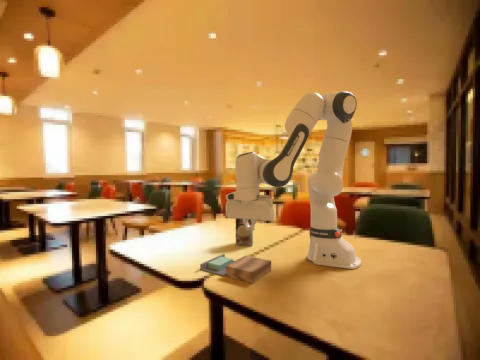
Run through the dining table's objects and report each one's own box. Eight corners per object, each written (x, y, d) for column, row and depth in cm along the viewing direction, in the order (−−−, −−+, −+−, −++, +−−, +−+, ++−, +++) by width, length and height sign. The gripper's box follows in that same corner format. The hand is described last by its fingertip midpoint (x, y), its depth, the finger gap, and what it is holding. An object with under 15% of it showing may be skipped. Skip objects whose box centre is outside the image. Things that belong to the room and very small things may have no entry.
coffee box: (235, 246, 143) (234, 215, 143) (236, 242, 150) (236, 213, 149) (252, 246, 142) (252, 215, 142) (253, 242, 149) (253, 213, 148)
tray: (245, 264, 117) (245, 258, 116) (224, 276, 104) (224, 270, 104) (223, 259, 123) (222, 253, 123) (200, 269, 111) (200, 264, 111)
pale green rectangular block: (221, 256, 120) (221, 260, 120) (208, 262, 112) (208, 267, 112) (232, 258, 116) (232, 263, 117) (219, 265, 109) (219, 270, 109)
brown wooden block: (271, 270, 109) (271, 260, 109) (253, 283, 98) (252, 272, 97) (245, 264, 116) (245, 255, 116) (225, 276, 104) (225, 265, 104)
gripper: (276, 194, 102) (278, 230, 103) (231, 193, 114) (233, 226, 114) (268, 196, 97) (270, 234, 98) (222, 195, 109) (224, 230, 109)
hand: (250, 230), depth 106 cm, fingers closed
